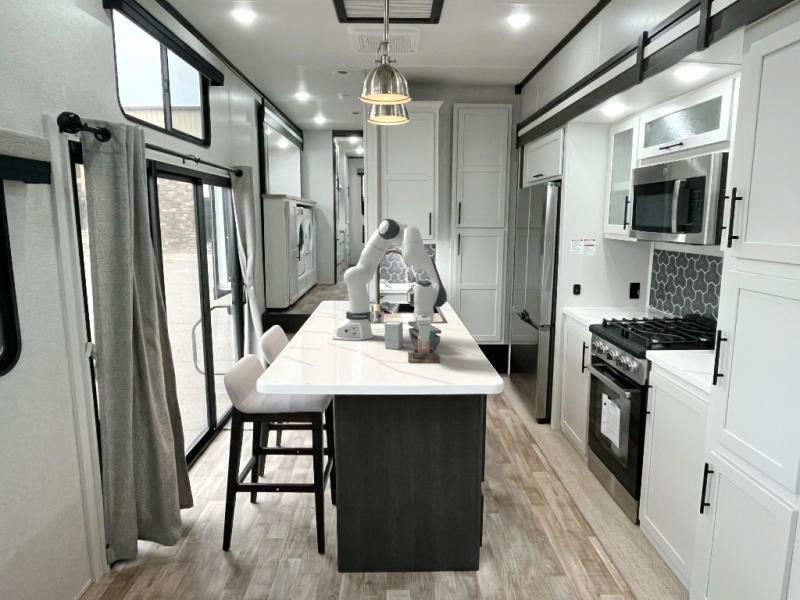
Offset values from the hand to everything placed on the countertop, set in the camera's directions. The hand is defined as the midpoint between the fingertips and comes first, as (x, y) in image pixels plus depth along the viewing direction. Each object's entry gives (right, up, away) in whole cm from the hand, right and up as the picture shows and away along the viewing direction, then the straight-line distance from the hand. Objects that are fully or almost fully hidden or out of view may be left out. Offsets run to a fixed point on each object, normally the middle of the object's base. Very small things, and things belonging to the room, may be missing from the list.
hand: (423, 346), depth 226 cm
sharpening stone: (+1, -2, +23) cm, 23 cm away
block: (0, -3, 0) cm, 2 cm away
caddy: (0, -6, +1) cm, 6 cm away
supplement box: (-14, -3, +22) cm, 26 cm away
